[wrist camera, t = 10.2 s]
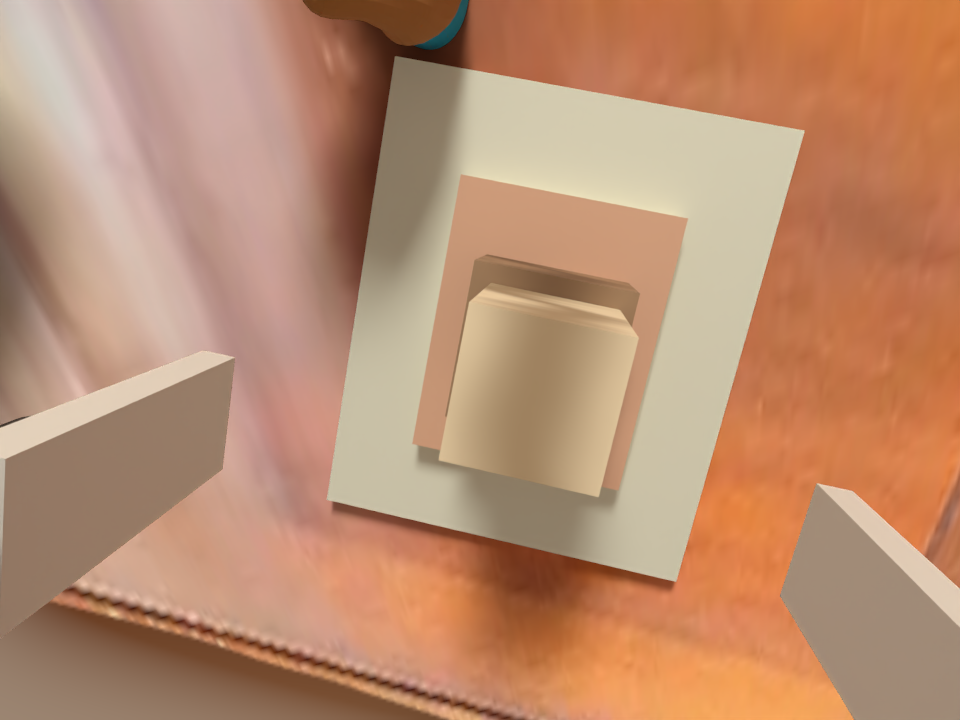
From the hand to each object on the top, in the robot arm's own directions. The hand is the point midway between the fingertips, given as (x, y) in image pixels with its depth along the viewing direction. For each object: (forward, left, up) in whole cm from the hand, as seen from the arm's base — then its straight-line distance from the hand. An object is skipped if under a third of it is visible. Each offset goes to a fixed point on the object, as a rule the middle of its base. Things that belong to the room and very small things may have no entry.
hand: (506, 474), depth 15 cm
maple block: (0, 0, -14) cm, 14 cm away
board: (0, 0, -22) cm, 22 cm away
